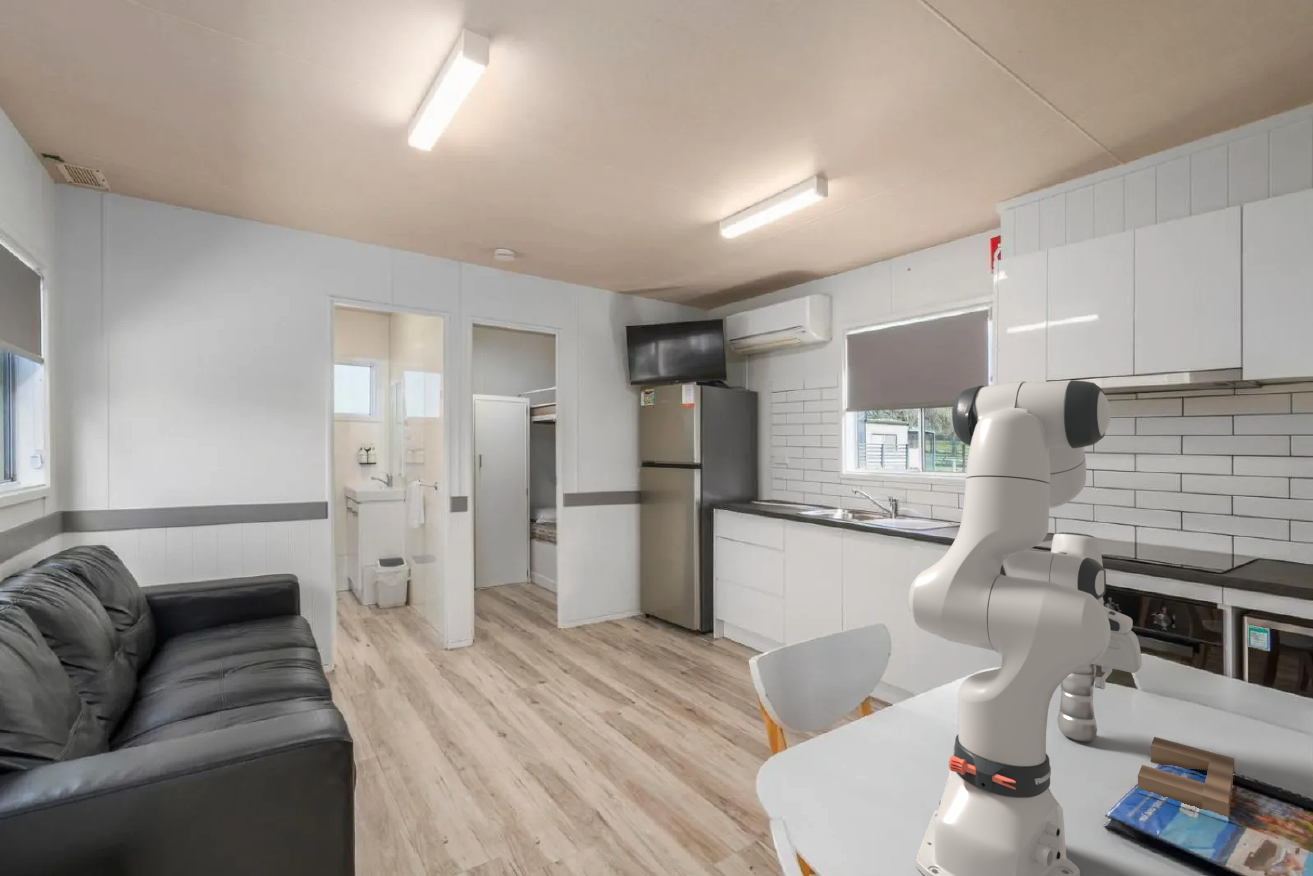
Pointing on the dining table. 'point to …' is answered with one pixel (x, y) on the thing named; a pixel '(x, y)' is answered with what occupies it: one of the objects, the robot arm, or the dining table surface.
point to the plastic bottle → (1078, 705)
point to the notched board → (1184, 789)
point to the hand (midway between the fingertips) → (1077, 682)
